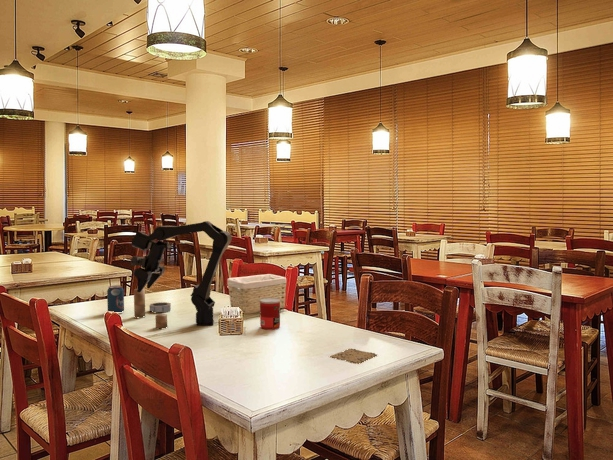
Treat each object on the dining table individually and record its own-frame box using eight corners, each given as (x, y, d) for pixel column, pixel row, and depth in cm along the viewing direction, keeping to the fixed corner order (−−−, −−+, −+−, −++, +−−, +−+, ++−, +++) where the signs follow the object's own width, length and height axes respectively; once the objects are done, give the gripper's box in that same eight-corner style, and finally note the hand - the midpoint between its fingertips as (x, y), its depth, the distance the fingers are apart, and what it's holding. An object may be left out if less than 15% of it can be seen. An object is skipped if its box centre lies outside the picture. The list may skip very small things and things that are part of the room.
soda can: (120, 314, 232) (120, 287, 231) (105, 314, 232) (104, 287, 231) (126, 311, 239) (125, 285, 238) (111, 311, 239) (110, 285, 238)
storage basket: (243, 315, 230) (243, 282, 229) (226, 309, 243) (225, 277, 242) (288, 308, 245) (288, 277, 244) (269, 303, 258) (269, 273, 257)
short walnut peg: (168, 326, 212) (167, 313, 212) (166, 328, 208) (166, 316, 207) (156, 326, 211) (156, 314, 211) (154, 329, 207) (154, 316, 207)
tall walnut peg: (146, 315, 230) (145, 288, 230) (144, 317, 226) (143, 290, 225) (135, 315, 230) (134, 288, 229) (133, 318, 225) (132, 290, 225)
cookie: (348, 349, 181) (348, 346, 181) (379, 356, 173) (379, 353, 173) (327, 358, 172) (327, 355, 172) (358, 365, 164) (358, 362, 164)
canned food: (277, 330, 205) (277, 302, 205) (257, 329, 207) (257, 301, 206) (282, 325, 213) (282, 298, 212) (263, 324, 215) (263, 297, 214)
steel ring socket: (171, 308, 245) (171, 302, 244) (169, 312, 236) (168, 306, 236) (151, 309, 243) (151, 302, 243) (148, 313, 235) (148, 306, 234)
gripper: (146, 245, 226) (135, 279, 228) (127, 250, 207) (115, 286, 209) (170, 255, 225) (159, 288, 227) (153, 260, 207) (140, 297, 208)
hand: (143, 290), depth 218 cm, fingers open, 9 cm apart
